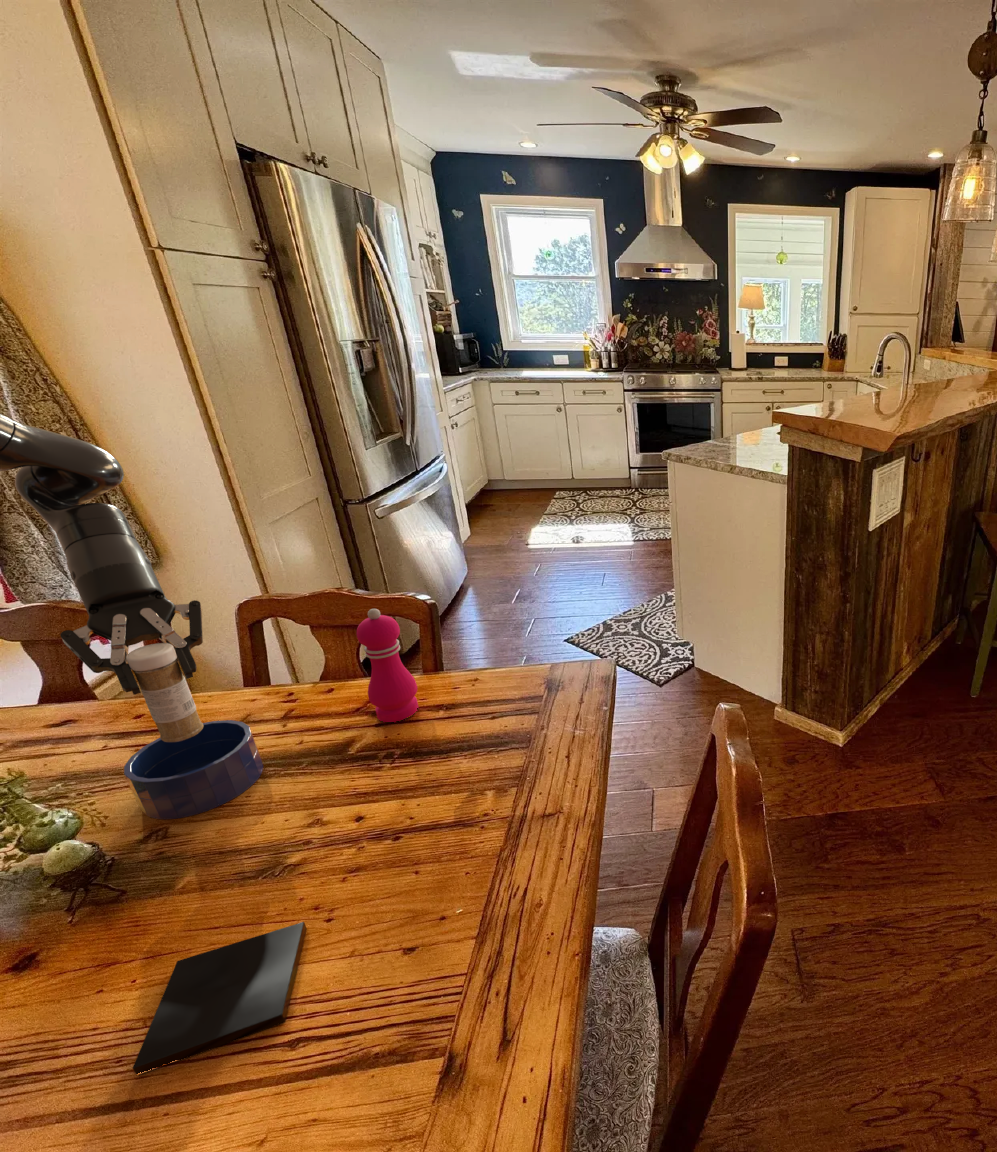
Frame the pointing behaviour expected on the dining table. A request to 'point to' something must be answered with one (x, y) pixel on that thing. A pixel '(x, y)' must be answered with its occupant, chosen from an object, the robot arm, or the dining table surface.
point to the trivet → (223, 996)
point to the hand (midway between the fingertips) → (163, 683)
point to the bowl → (194, 770)
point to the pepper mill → (387, 669)
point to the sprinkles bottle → (165, 691)
